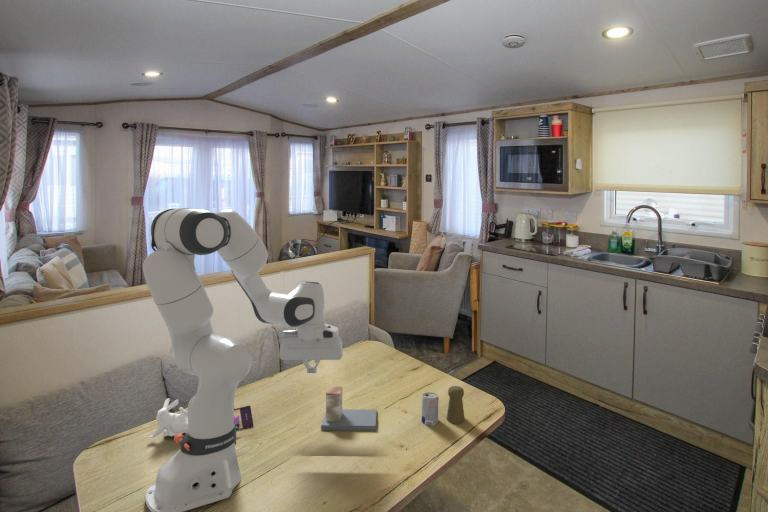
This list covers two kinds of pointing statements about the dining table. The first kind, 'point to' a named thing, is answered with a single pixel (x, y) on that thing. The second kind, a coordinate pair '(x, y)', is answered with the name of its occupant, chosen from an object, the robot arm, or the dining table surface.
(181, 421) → the rabbit figurine
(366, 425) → the slate board
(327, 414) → the block
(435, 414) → the energy drink
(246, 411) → the purple box
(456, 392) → the brown pawn shape
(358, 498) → the dining table surface
